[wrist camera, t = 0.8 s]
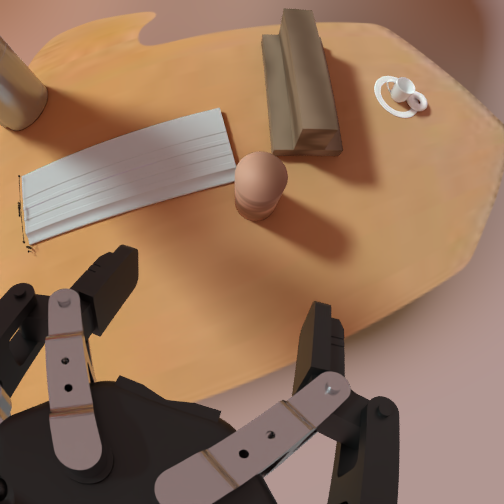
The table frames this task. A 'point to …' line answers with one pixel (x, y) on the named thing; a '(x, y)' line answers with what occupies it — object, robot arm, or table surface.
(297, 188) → the table surface
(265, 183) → the pink domed cylinder
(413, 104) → the teacup and saucer
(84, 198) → the baseboard molding
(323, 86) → the ridge
